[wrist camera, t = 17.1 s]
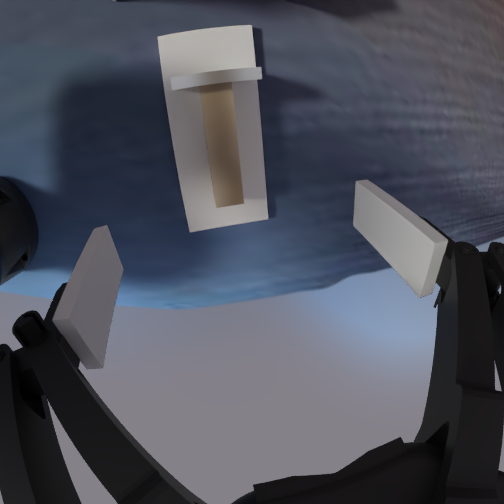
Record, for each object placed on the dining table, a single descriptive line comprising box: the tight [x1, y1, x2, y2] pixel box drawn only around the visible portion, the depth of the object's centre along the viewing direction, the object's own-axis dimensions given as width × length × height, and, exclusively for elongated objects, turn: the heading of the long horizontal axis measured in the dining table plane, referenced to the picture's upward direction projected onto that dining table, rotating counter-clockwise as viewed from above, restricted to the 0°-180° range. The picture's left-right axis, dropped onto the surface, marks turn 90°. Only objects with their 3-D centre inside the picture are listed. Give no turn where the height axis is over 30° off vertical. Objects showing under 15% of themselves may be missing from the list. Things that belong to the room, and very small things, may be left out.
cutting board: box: [158, 25, 268, 232], centre depth 31 cm, size 10×24×1 cm, turn 6°
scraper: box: [171, 67, 262, 208], centre depth 29 cm, size 8×14×6 cm, turn 6°
